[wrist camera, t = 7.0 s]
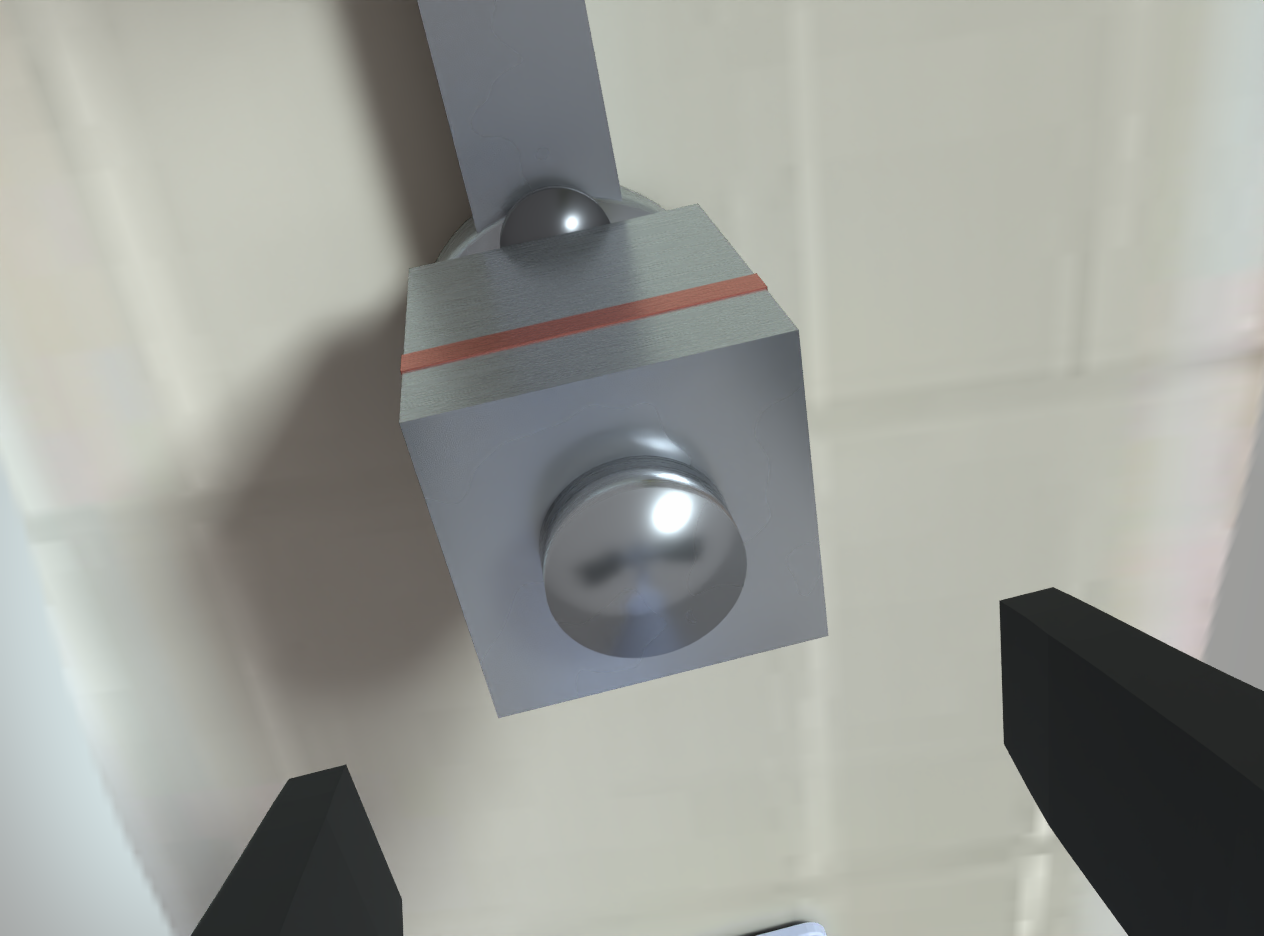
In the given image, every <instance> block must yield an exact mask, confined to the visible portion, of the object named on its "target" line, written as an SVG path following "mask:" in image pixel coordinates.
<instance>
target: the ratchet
mask: <svg viewBox="0 0 1264 936" xmlns="http://www.w3.org/2000/svg"><path fill="white" fill-rule="evenodd" d="M417 2H418V6H419V10H420V14H421V18H422V22H423V25H424V29H425V33H426V37H427V41H428V45H429V49H430V53H431V56H432V60H433V64H434V68H435V72H436V76H437V80H438V84H439V87H440V91H441V95H442V99H443V103H444V107H445V111H446V115H447V118H448V122H449V126H450V130H451V134H452V138H453V142H454V146H455V149H456V153H457V157H458V161H459V165H460V169H461V173H462V177H463V180H464V184H465V188H466V192H467V196H468V200H469V204H470V207H471V211H472V215H473V216H472V217H471V218H469V219H468V220H467V221H466V222H465V223H464V224H463V225H462V226H461V227H460V228H459V229H458V230H457V232H456V233H455V234H454V235H453V236H452V237H451V239H450V240H449V241H448V243H447V244H446V246H445V247H444V249H443V250H442V251H441V253H440V255H439V257H438V259H437V261H436V263H437V262H441V261H446V260H450V259H455V258H459V257H463V256H468V255H472V254H477V253H481V252H486V251H490V250H494V249H499V248H503V247H508V246H512V245H517V244H521V243H526V242H530V241H534V240H539V239H543V238H548V237H552V236H557V235H561V234H565V233H570V232H574V231H579V230H583V229H588V228H592V227H596V226H601V225H605V224H610V223H614V222H619V221H623V220H627V219H632V218H636V217H641V216H645V215H650V214H654V213H659V212H663V211H666V210H665V209H664V208H662V207H661V206H660V205H659V204H657V203H655V202H654V201H652V200H650V199H648V198H647V197H645V196H643V195H641V194H639V193H637V192H634V191H632V190H629V189H627V188H625V187H622V186H620V185H619V180H618V174H617V169H616V164H615V159H614V153H613V148H612V143H611V138H610V132H609V127H608V122H607V117H606V111H605V106H604V101H603V95H602V90H601V85H600V80H599V74H598V69H597V64H596V59H595V53H594V48H593V43H592V38H591V32H590V27H589V22H588V16H587V11H586V6H585V1H584V0H417Z"/></svg>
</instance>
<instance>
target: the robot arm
mask: <svg viewBox="0 0 1264 936" xmlns="http://www.w3.org/2000/svg"><path fill="white" fill-rule="evenodd" d="M1000 631H1001V664H1002V696H1003V729H1004V745H1005V747H1006V748H1007V750H1008V752H1009V754H1010V756H1011V758H1012V760H1013V762H1014V763H1015V765H1016V767H1017V769H1018V771H1019V773H1020V775H1021V776H1022V778H1023V780H1024V782H1025V784H1026V786H1027V788H1028V789H1029V791H1030V793H1031V795H1032V796H1033V798H1034V800H1035V802H1036V804H1037V805H1038V807H1039V809H1040V811H1041V812H1042V814H1043V816H1044V818H1045V819H1046V821H1047V823H1048V825H1049V826H1050V828H1051V829H1052V830H1053V832H1054V833H1055V835H1056V836H1057V837H1058V839H1059V840H1060V842H1061V843H1062V845H1063V846H1064V847H1065V849H1066V850H1067V852H1068V853H1069V854H1070V856H1071V857H1072V859H1073V860H1074V861H1075V863H1076V864H1077V865H1078V867H1079V868H1080V870H1081V871H1082V872H1083V874H1084V875H1085V877H1086V878H1087V879H1088V881H1089V882H1090V884H1091V885H1092V886H1093V888H1094V889H1095V890H1096V892H1097V893H1098V895H1099V896H1100V897H1101V899H1102V900H1103V901H1104V903H1105V904H1106V906H1107V907H1108V908H1109V910H1110V911H1111V912H1112V914H1113V915H1114V916H1115V918H1116V919H1117V921H1118V922H1119V923H1120V925H1121V926H1122V927H1123V929H1124V930H1125V932H1126V933H1127V934H1128V936H1264V691H1262V690H1260V689H1258V688H1255V687H1253V686H1251V685H1249V684H1247V683H1245V682H1243V681H1241V680H1239V679H1236V678H1234V677H1232V676H1230V675H1228V674H1226V673H1224V672H1222V671H1220V670H1218V669H1216V668H1214V667H1212V666H1210V665H1208V664H1205V663H1203V662H1201V661H1199V660H1197V659H1195V658H1193V657H1191V656H1189V655H1187V654H1185V653H1183V652H1181V651H1179V650H1177V649H1175V648H1173V647H1171V646H1169V645H1167V644H1165V643H1163V642H1162V641H1160V640H1158V639H1156V638H1154V637H1152V636H1150V635H1148V634H1146V633H1144V632H1142V631H1140V630H1138V629H1136V628H1134V627H1132V626H1130V625H1128V624H1126V623H1124V622H1122V621H1120V620H1118V619H1116V618H1115V617H1113V616H1111V615H1109V614H1107V613H1105V612H1103V611H1101V610H1099V609H1097V608H1095V607H1093V606H1091V605H1089V604H1087V603H1085V602H1083V601H1081V600H1079V599H1077V598H1075V597H1073V596H1071V595H1069V594H1066V593H1064V592H1062V591H1060V590H1058V589H1056V588H1053V587H1052V588H1048V589H1044V590H1040V591H1036V592H1032V593H1028V594H1024V595H1020V596H1016V597H1012V598H1008V599H1004V600H1000ZM191 936H403V916H402V898H401V896H400V894H399V891H398V889H397V886H396V884H395V882H394V879H393V877H392V874H391V872H390V870H389V867H388V865H387V862H386V860H385V858H384V855H383V853H382V850H381V848H380V846H379V843H378V841H377V838H376V836H375V833H374V831H373V829H372V826H371V824H370V821H369V819H368V817H367V814H366V812H365V809H364V807H363V805H362V802H361V800H360V797H359V795H358V793H357V790H356V788H355V785H354V783H353V781H352V778H351V776H350V773H349V771H348V768H347V766H346V765H343V766H339V767H335V768H331V769H327V770H323V771H319V772H315V773H311V774H307V775H303V776H299V777H295V778H291V779H289V780H288V781H287V783H286V784H285V786H284V787H283V789H282V790H281V792H280V794H279V795H278V797H277V798H276V800H275V801H274V803H273V804H272V806H271V808H270V809H269V811H268V812H267V814H266V816H265V817H264V819H263V821H262V822H261V824H260V826H259V827H258V829H257V830H256V832H255V834H254V835H253V837H252V839H251V840H250V842H249V844H248V845H247V847H246V848H245V850H244V852H243V853H242V855H241V857H240V858H239V860H238V862H237V863H236V865H235V866H234V868H233V870H232V871H231V873H230V875H229V876H228V878H227V879H226V881H225V883H224V884H223V886H222V888H221V889H220V891H219V892H218V894H217V896H216V897H215V899H214V900H213V902H212V903H211V905H210V906H209V908H208V910H207V911H206V913H205V914H204V916H203V917H202V919H201V920H200V922H199V924H198V925H197V927H196V928H195V930H194V931H193V933H192V934H191ZM756 936H827V934H826V932H825V930H824V927H823V926H822V925H820V924H819V923H814V922H806V923H802V924H798V925H794V926H790V927H786V928H783V929H779V930H775V931H771V932H768V933H764V934H760V935H756Z"/></svg>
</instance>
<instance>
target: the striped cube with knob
mask: <svg viewBox="0 0 1264 936" xmlns="http://www.w3.org/2000/svg"><path fill="white" fill-rule="evenodd" d="M400 372H401V375H402V388H401V403H400V419H399V424H400V427H401V430H402V433H403V436H404V439H405V442H406V445H407V448H408V451H409V453H410V456H411V459H412V462H413V465H414V468H415V471H416V474H417V477H418V480H419V483H420V486H421V489H422V492H423V495H424V498H425V501H426V504H427V507H428V510H429V513H430V516H431V519H432V522H433V525H434V528H435V531H436V534H437V537H438V540H439V543H440V546H441V549H442V552H443V555H444V558H445V561H446V563H447V566H448V569H449V572H450V575H451V578H452V581H453V584H454V587H455V590H456V593H457V596H458V599H459V602H460V605H461V608H462V611H463V614H464V617H465V620H466V623H467V626H468V629H469V632H470V635H471V638H472V641H473V644H474V647H475V650H476V653H477V656H478V659H479V662H480V665H481V668H482V671H483V674H484V676H485V679H486V682H487V685H488V688H489V691H490V694H491V697H492V700H493V703H494V706H495V709H496V712H497V715H498V718H501V717H505V716H509V715H513V714H517V713H521V712H525V711H529V710H533V709H537V708H541V707H545V706H549V705H553V704H557V703H561V702H565V701H569V700H573V699H577V698H581V697H585V696H589V695H593V694H597V693H601V692H605V691H609V690H613V689H617V688H621V687H625V686H629V685H633V684H637V683H641V682H645V681H649V680H653V679H657V678H661V677H665V676H669V675H673V674H677V673H681V672H685V671H689V670H693V669H697V668H701V667H705V666H709V665H713V664H717V663H721V662H725V661H729V660H733V659H737V658H741V657H745V656H749V655H753V654H757V653H761V652H765V651H769V650H773V649H777V648H781V647H785V646H789V645H793V644H797V643H801V642H805V641H809V640H813V639H817V638H821V637H825V636H828V628H827V617H826V607H825V597H824V586H823V576H822V566H821V555H820V545H819V535H818V524H817V514H816V504H815V494H814V483H813V473H812V463H811V452H810V442H809V432H808V421H807V411H806V401H805V390H804V380H803V370H802V359H801V349H800V339H799V330H798V328H797V327H796V326H795V325H794V323H793V322H792V321H791V320H790V318H789V317H788V316H787V315H786V313H785V312H784V311H783V310H782V308H781V307H780V306H779V304H778V303H777V302H776V301H775V299H774V298H773V297H772V296H771V294H770V293H769V292H768V289H767V286H766V285H765V283H764V282H763V281H762V280H761V278H760V277H759V276H758V275H757V273H756V274H754V273H753V272H752V271H751V269H750V268H749V267H748V266H747V264H746V263H745V262H744V261H743V259H742V258H741V257H740V256H739V254H738V253H737V252H736V250H735V249H734V248H733V247H732V245H731V244H730V243H729V242H728V240H727V239H726V238H725V237H724V235H723V234H722V233H721V232H720V230H719V229H718V228H717V227H716V225H715V224H714V223H713V222H712V220H711V219H710V218H709V217H708V215H707V214H706V213H705V212H704V210H703V209H702V208H701V207H700V205H699V204H694V205H690V206H685V207H681V208H676V209H672V210H667V211H663V212H659V213H654V214H650V215H645V216H641V217H636V218H632V219H627V220H623V221H619V222H614V223H610V224H605V225H601V226H596V227H592V228H588V229H583V230H579V231H574V232H570V233H565V234H561V235H557V236H552V237H548V238H543V239H539V240H534V241H530V242H526V243H521V244H517V245H512V246H508V247H503V248H499V249H494V250H490V251H486V252H481V253H477V254H472V255H468V256H463V257H459V258H455V259H450V260H446V261H441V262H437V263H432V264H428V265H424V266H419V267H415V268H410V269H409V279H408V295H407V310H406V326H405V341H404V355H402V356H401V370H400Z"/></svg>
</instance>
